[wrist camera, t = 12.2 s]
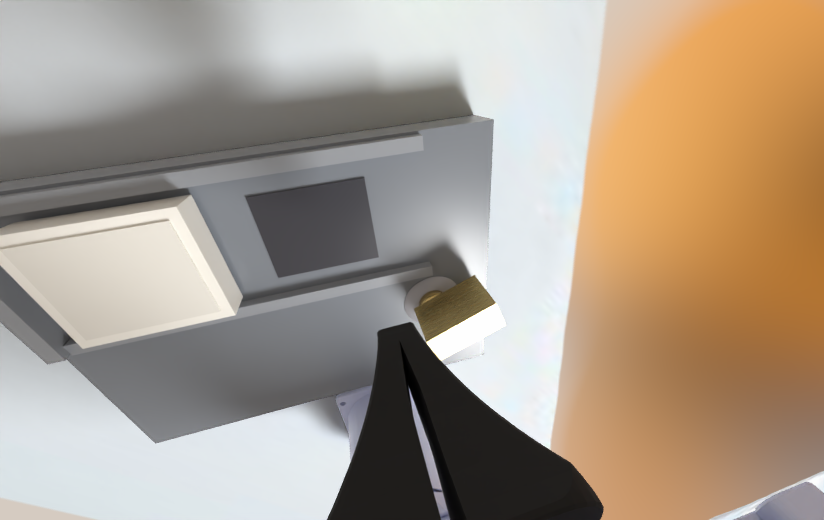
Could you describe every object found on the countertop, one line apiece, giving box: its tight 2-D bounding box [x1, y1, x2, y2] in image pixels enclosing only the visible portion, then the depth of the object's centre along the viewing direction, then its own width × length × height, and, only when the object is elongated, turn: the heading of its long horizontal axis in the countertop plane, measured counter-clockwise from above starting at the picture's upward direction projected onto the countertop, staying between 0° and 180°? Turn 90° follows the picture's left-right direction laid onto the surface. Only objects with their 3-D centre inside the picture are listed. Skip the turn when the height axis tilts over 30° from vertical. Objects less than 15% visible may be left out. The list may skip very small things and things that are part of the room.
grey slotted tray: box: [0, 115, 494, 443], centre depth 19 cm, size 18×25×4 cm
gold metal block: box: [414, 275, 506, 360], centre depth 19 cm, size 4×2×4 cm, turn 117°
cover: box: [0, 195, 243, 349], centre depth 14 cm, size 6×7×2 cm
